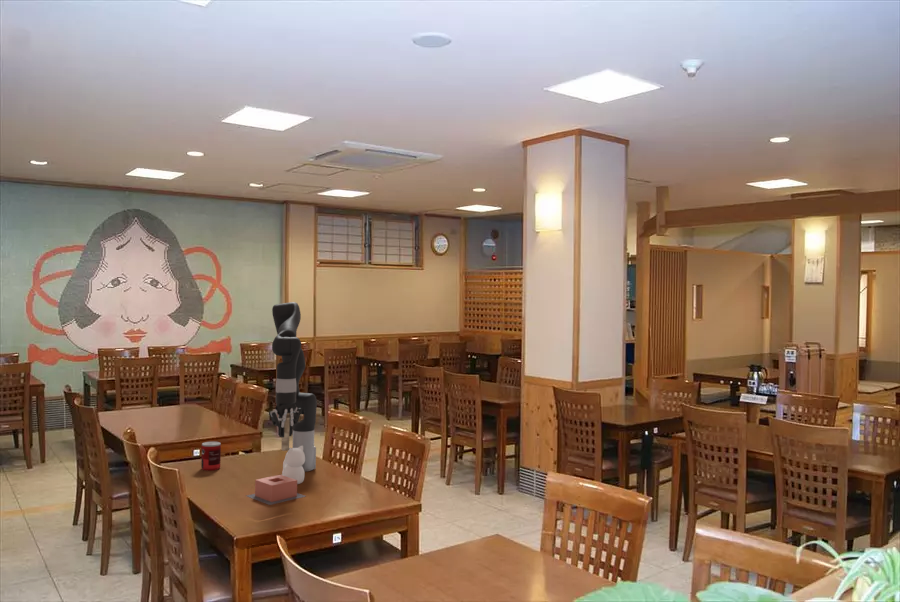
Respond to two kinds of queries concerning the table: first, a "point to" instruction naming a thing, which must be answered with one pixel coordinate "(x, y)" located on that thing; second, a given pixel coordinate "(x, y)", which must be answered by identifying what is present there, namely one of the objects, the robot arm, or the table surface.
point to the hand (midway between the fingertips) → (285, 436)
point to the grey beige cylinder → (286, 434)
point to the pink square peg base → (275, 488)
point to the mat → (274, 501)
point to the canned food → (211, 456)
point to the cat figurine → (294, 464)
